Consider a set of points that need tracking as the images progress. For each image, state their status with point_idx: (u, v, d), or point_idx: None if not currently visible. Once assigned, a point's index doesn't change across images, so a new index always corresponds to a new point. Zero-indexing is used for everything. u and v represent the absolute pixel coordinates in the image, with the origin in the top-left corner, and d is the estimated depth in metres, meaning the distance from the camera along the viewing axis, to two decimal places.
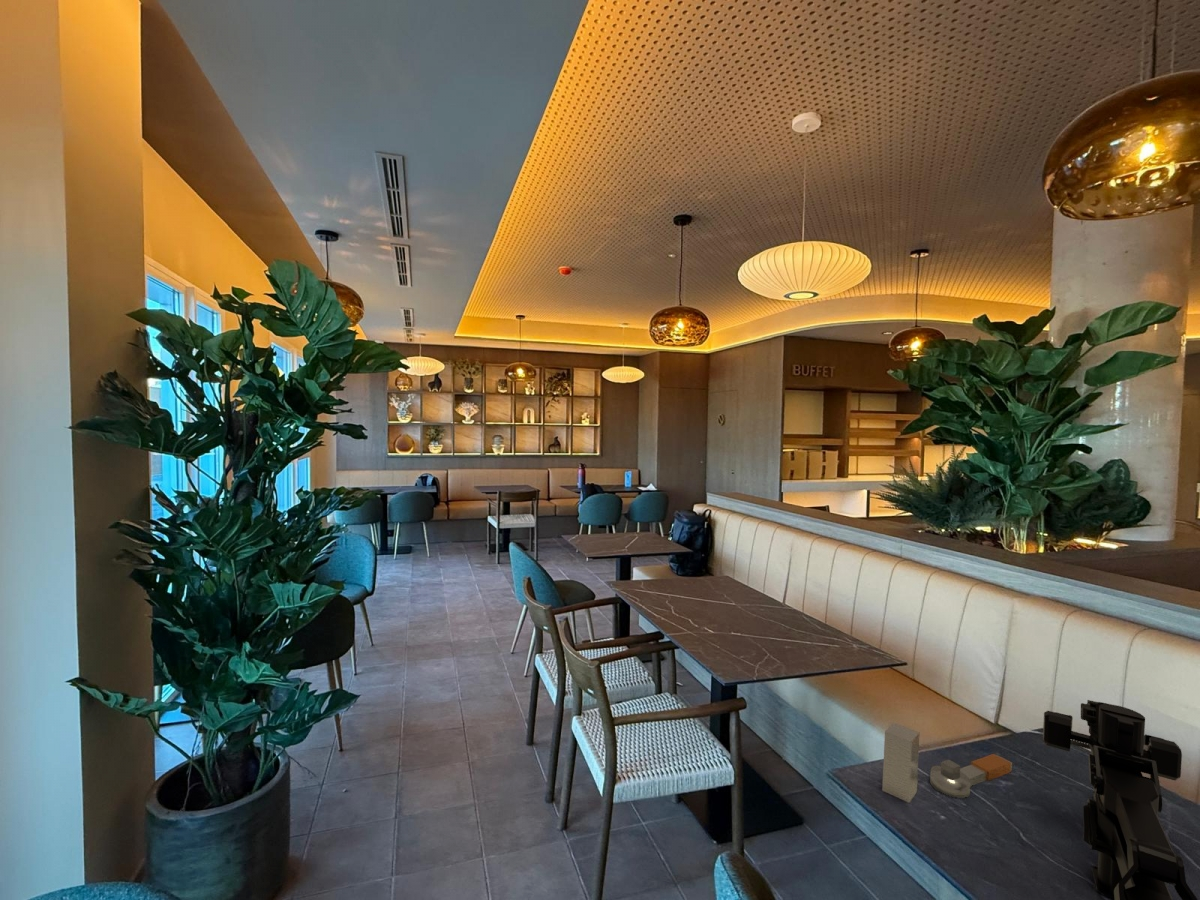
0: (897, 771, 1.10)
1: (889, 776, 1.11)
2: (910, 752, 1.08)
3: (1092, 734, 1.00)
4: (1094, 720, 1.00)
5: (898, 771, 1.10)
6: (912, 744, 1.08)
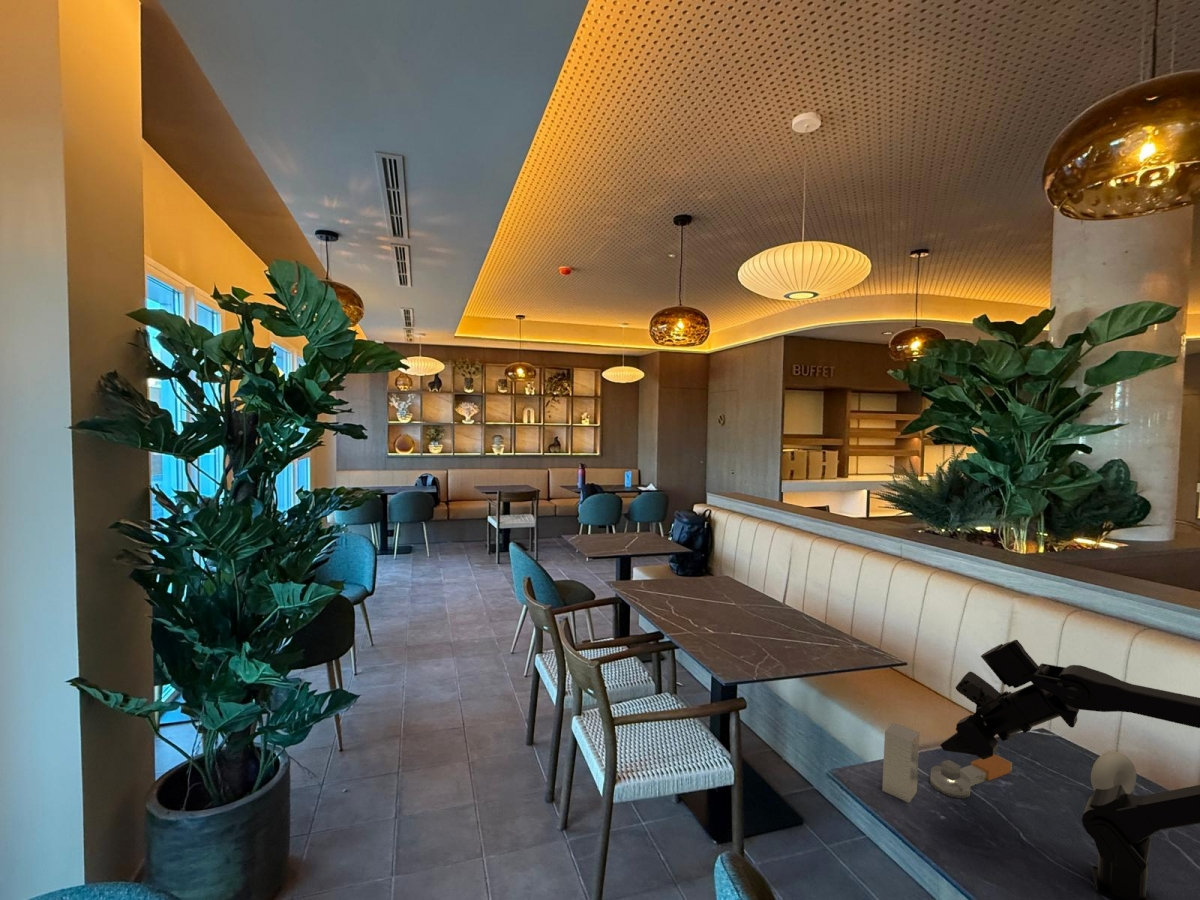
0: (897, 771, 1.10)
1: (889, 776, 1.11)
2: (910, 752, 1.08)
3: (992, 706, 0.99)
4: (982, 690, 1.00)
5: (898, 771, 1.10)
6: (912, 744, 1.08)
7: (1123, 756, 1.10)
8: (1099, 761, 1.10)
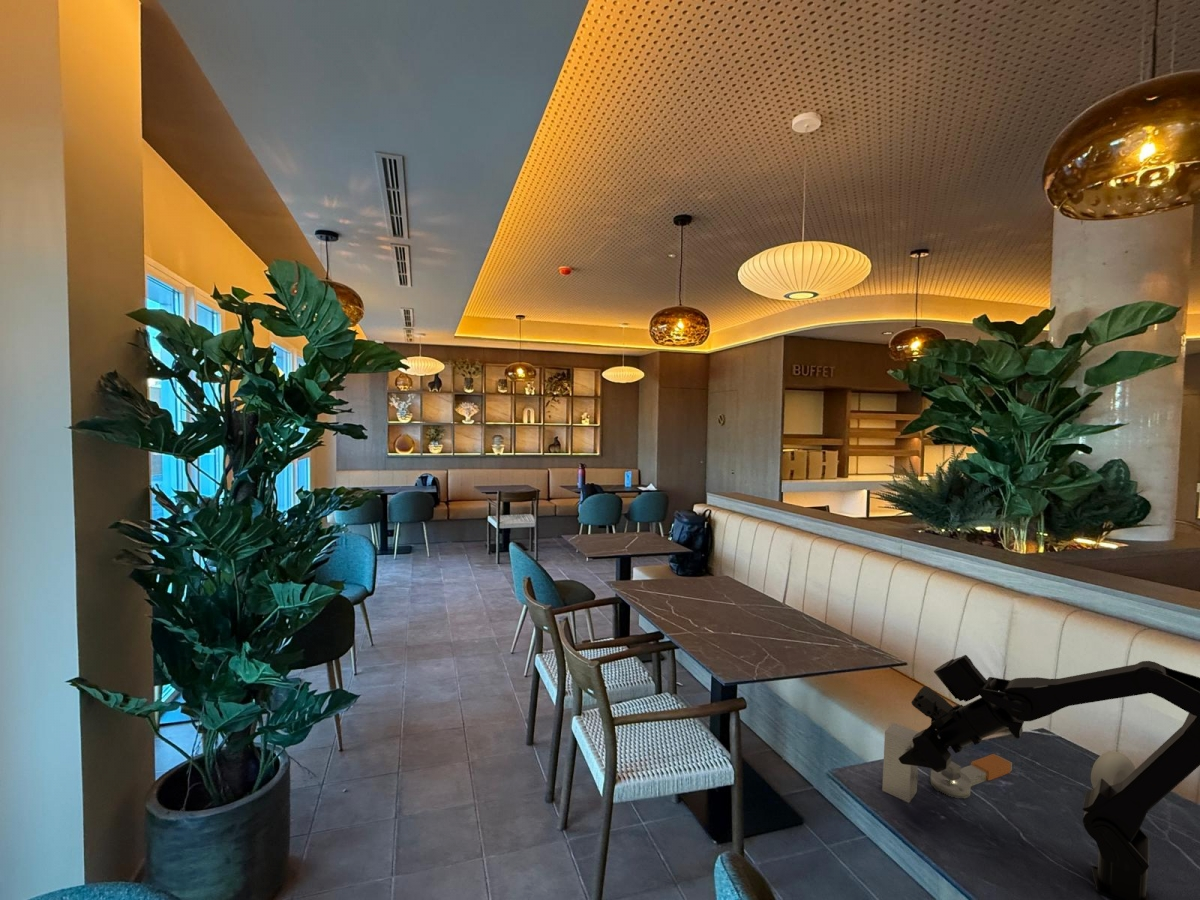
0: (897, 771, 1.10)
1: (889, 776, 1.11)
2: None
3: (945, 719, 1.04)
4: (935, 704, 1.05)
5: (898, 771, 1.10)
6: (912, 744, 1.08)
7: (1123, 756, 1.10)
8: (1099, 761, 1.10)
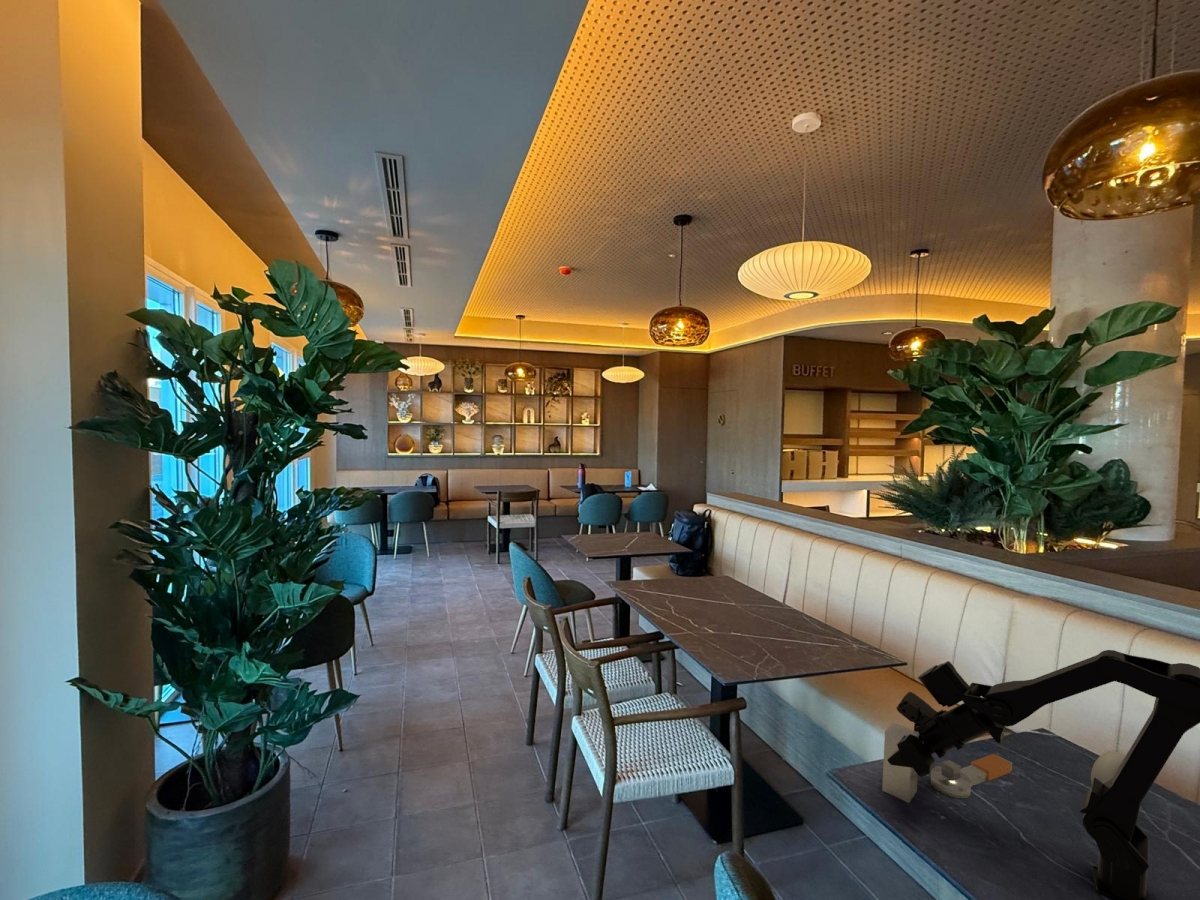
0: (897, 771, 1.10)
1: (889, 776, 1.11)
2: None
3: (929, 725, 1.06)
4: (920, 710, 1.07)
5: (898, 771, 1.10)
6: None
7: (1123, 756, 1.10)
8: (1099, 761, 1.10)
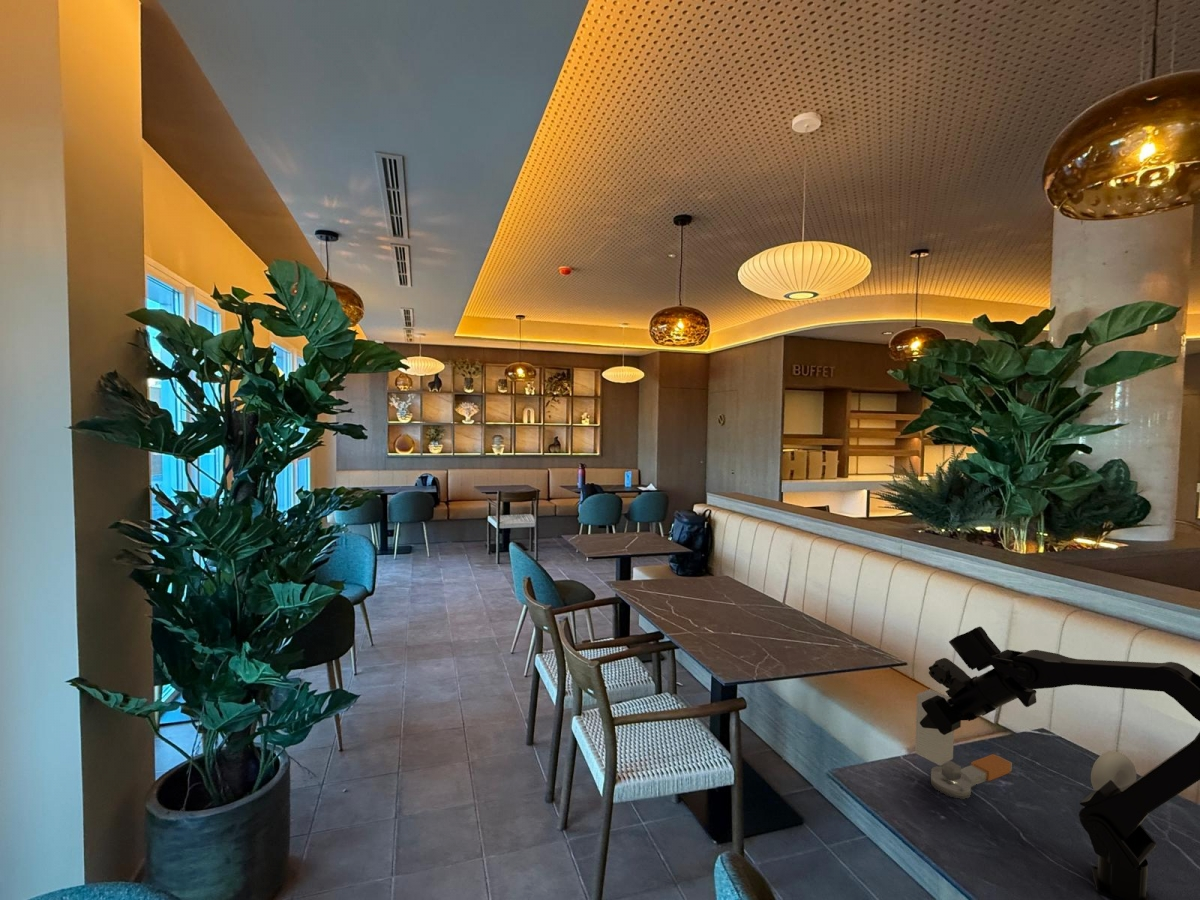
0: (929, 734, 1.12)
1: (921, 739, 1.13)
2: None
3: (958, 688, 1.07)
4: (949, 673, 1.08)
5: (930, 734, 1.12)
6: None
7: (1123, 756, 1.10)
8: (1099, 761, 1.10)
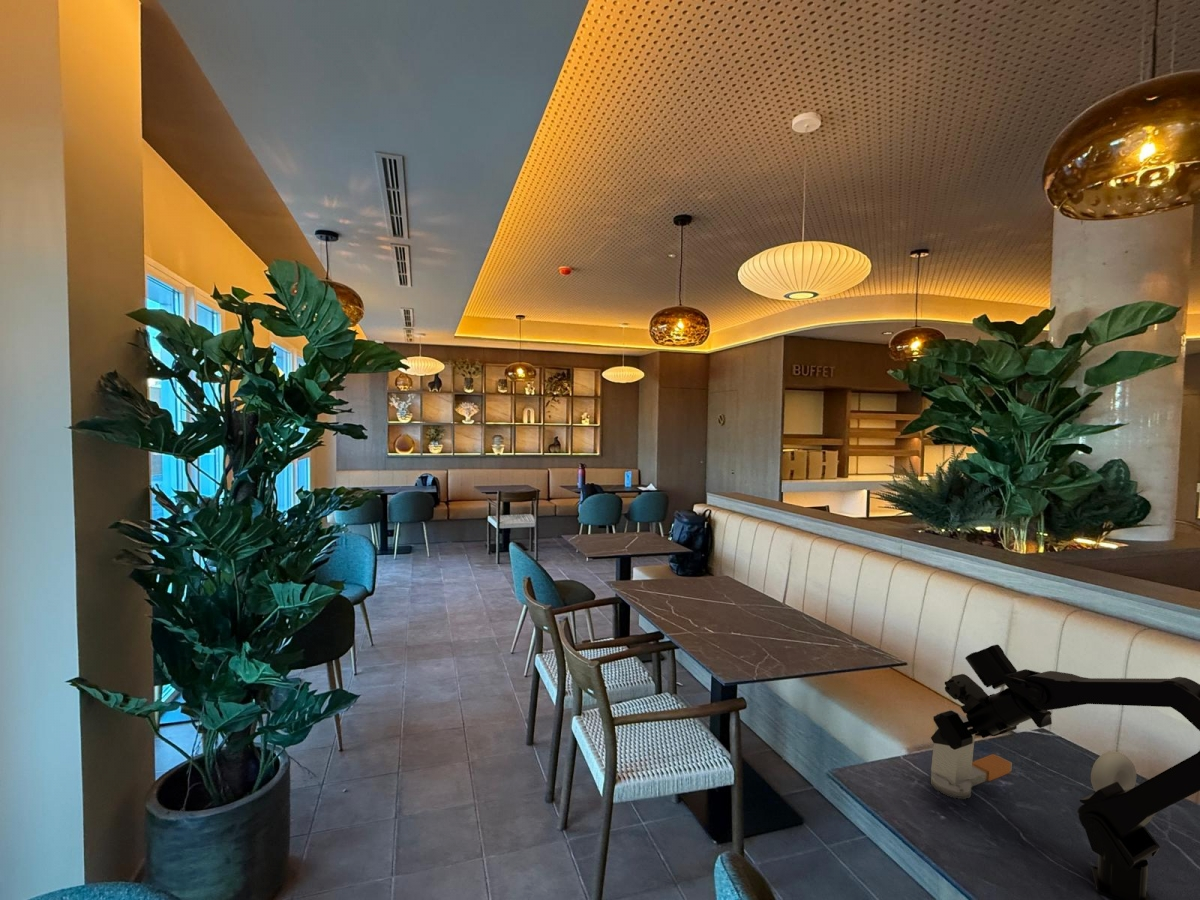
0: (946, 754, 1.12)
1: (938, 757, 1.14)
2: None
3: (973, 704, 1.07)
4: (965, 689, 1.09)
5: (946, 754, 1.12)
6: None
7: (1123, 756, 1.10)
8: (1099, 761, 1.10)
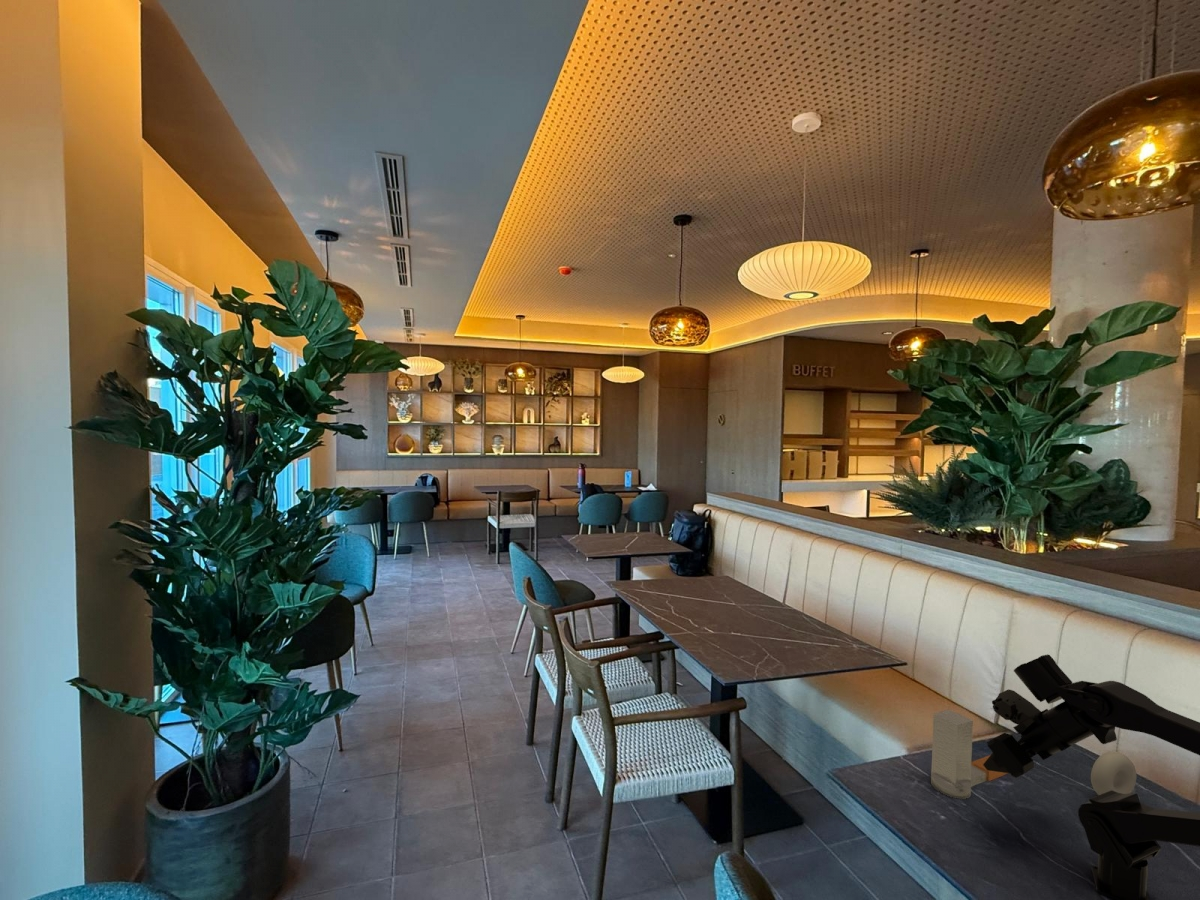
0: (944, 754, 1.12)
1: (937, 758, 1.14)
2: (956, 736, 1.10)
3: (1027, 723, 0.99)
4: (1015, 708, 1.00)
5: (945, 754, 1.12)
6: (959, 728, 1.10)
7: (1123, 756, 1.10)
8: (1099, 761, 1.10)
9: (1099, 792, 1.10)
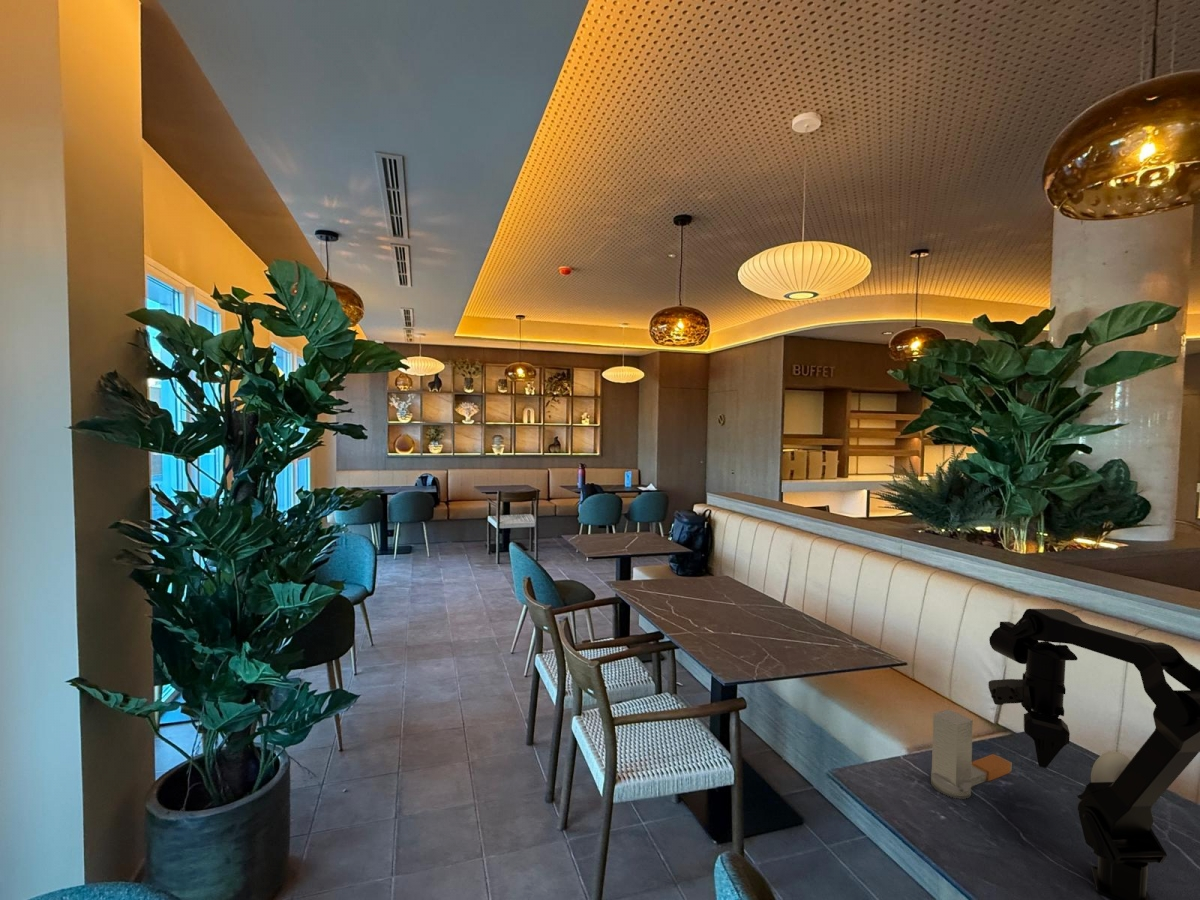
0: (944, 754, 1.12)
1: (937, 758, 1.14)
2: (956, 735, 1.10)
3: (1027, 693, 1.02)
4: (1009, 686, 1.04)
5: (945, 754, 1.12)
6: (958, 728, 1.10)
7: (1123, 756, 1.10)
8: (1099, 761, 1.10)
9: None
